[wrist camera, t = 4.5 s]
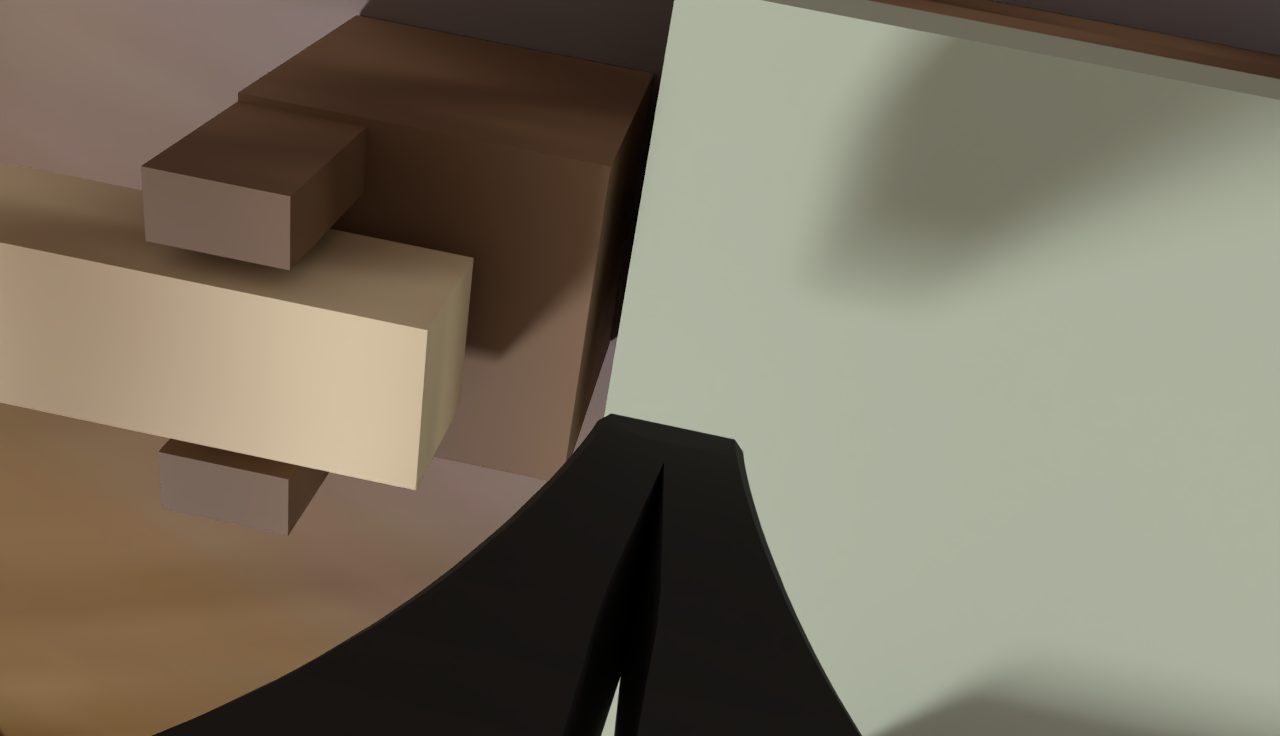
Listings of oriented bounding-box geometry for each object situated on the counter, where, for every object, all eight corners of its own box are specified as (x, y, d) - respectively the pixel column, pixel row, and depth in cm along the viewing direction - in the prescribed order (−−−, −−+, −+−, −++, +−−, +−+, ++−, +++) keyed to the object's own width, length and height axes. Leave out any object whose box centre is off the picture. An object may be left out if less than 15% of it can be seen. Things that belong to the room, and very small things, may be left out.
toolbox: (1725, 140, 15) (2213, 372, 10) (1181, 975, 24) (1283, 1331, 19) (360, -119, 16) (129, -34, 10) (330, 785, 25) (196, 1077, 19)
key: (473, 257, 13) (427, 330, 12) (459, 404, 14) (416, 490, 13) (-115, 138, 14) (-237, 194, 12) (-89, 291, 15) (-197, 360, 13)
